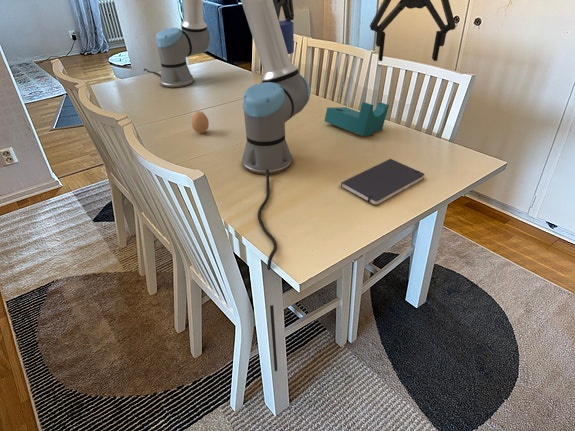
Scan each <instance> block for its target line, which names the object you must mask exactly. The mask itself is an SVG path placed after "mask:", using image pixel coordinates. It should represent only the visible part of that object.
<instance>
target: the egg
mask: <svg viewBox="0 0 575 431" xmlns="http://www.w3.org/2000/svg"><path fill="white" fill-rule="evenodd" d="M190 122H191V127H192V129H193V131H195V132H196V133H198V134H203V133H205V132H207V130H208V129H209V127H210V126H209V125H210V122H209V118H208V117H207V115H206V114H205V113H204V112H203V111H200V110H197V111H195V112H194V113H193V114H192V116H191V120H190Z"/></svg>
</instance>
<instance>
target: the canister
mask: <svg viewBox="0 0 575 431" xmlns="http://www.w3.org/2000/svg"><path fill="white" fill-rule="evenodd" d="M279 24H280V28H281V31H282V35H283V38H284V42H285V45H286V48H287V52H288V55H291V54H294V53H295V42H294V41H295V40H294V39H295V38H294V30H295V29H294V21H292V20H291V21H284V20H279Z"/></svg>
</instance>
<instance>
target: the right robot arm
mask: <svg viewBox="0 0 575 431" xmlns="http://www.w3.org/2000/svg"><path fill="white" fill-rule="evenodd" d="M240 2H241V5H242V8H243V12H244V14H245V17H246V21H247V24H248V27H249V30H250V33H251V36H252V39H253V42H254V45H255V49H256V52H257V54H258V58H259V61H260V64H261V67H262V71H263V74H262V76H261V78H260V81H261V82H259V83H255V84H253V85H251V86H249V87H248V88H247V89H246V90H245V91H244V92H243V97H242V98H243V99H242V108H243V114H244V125H245V136H246V137H245V138H246V143H245V146H244V151H243V155H242V166H243V168H244V170H246V171H247V172H249V173H252V174H254V175H255V174H256V175H262V176H265V182H266V185H265V186H266V187H265V188H266V196H265V198H264V200H263V202H262V203H261V205H260V206H259V208H258V211H257V219H258V222H259V225H260V228H261V229H262V231H263V232H264V234H265V235H266V236H267V237H268V239H269V240H270V241H271V242H272V245H273V247H272V248H273V249H272V250H271V252H270V254H269V255H268V258H267V264H266V266H267V267H266V270H268V271H271V268H272V260H273V258H274V255H276V252H277V249H278V244H277V241H276V238H274V236H273V235H272V234H271V233H270V232H269V231H268V229H267V228H266V226H265V224H264V222H263V219H262V211H263V209H264V207H265V206H266V205H267V203H268V201H269V199H270V175H277V174H280V173H283V172H286V171H287V170H289V169H290V167H291V166H292V163H293V158H292V153H291V150H290V148H289V145H288V143H287V140H286V123H287V122H288V121H289V120H291V119H292V118H293V117H295V116H296V115H297V114H299V113H301V112H302V111H303V110H304V108H305V107H306V106H307V105H308V103H309V101H310V97H311V88H310V84H309V82H308V80H307V79H306V78H305V77H303V75H301V74H300V72H299V70H298V66H296V65H294V64H292V62H291V59H290V56H289V55H290V54H288V52H287V48H286V45H285V42H284V38H283V35H282V31H281V28H280V24H279V21H280V20H279V21H278V17H277V14H276V11H275V7H274V4H273V0H240ZM391 2H392V0H383V1H382V2H381V4H380V6H379V7H378V10H377V11H376V13H375V15H374V17H373V19H372V21H371V22H370V24H369V29H370V31H374V32H375V33H376V36H375V46H376V47H378V61H379V62H383V59H384V49H385V41H386V32H385V30H386V29H387V28H388V26H389V25H390V24H391V23H392V22H393V21H394V20H395V19H396V18H397V16H398V15H399V14H400V13H401V12H402V11H403V10H405V8H407V9H408V10H409V9H410V10H411V9H412V10H413V9H423V8H426V9H427V11H428V12H429V14H430V16H431V18H432V19H433V21H434V22H435V24H436V25H437V27H438V28H439V30H437V31H436V32H435V38H434V43H433V50H432V55H431V59H432V61H434V62H437V61H438V59H439V52H440V47H444V45H445V41H446V37H447V34H448V32H449V31H454V30H456V27H457V25H456V22H455V19H454V15H453V11H452V6H451V4H450V0H440V2H441V5H442V9H443V13H444V16H445V20H446V23H447V24H445V23H444V21H443V19H442V17H441V16H440V14H439V13H438V11H437V9H436V8H435V6H434V4H433V3H432V0H399V1H398V2H397V3H396V5H395V7H394V8H393V9H392V10H391V11H390V12H389V13H388V14H387V16H386V17H385V18H384V19H383V20H382V21H381V19H382V18H383V16H384V14H385V12H386V11H387V9H388V7H389V5H390V3H391ZM379 23H380V24H379ZM269 308H270V309H269V312H270V325H271V326H270V327H271V341H272V353H273V368H274V372H278V357H277V355H278V354H277V342H276V327H275V326H276V324H275V311H274V308H275V307H274V304H272V305H270V306H269Z"/></svg>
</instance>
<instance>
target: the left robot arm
mask: <svg viewBox="0 0 575 431" xmlns="http://www.w3.org/2000/svg"><path fill="white" fill-rule="evenodd" d="M182 4H183V20H182V21H181V23H180V27H181V28H180V27H170V28H165V29H162V30H159V31H158V32H157V33H156V35H155V41H156V42H155V43H156V46H157V52H158V57H159V62H160V67H161V70H160V73H159V72H156V71H151V70H148V69H147V68H144V69H143V72H145V71H146V72H148V73H149V74H155V75H158V76H159V77H160V79H159V80H160V86H162V87H164V88H169V89H170V88H171V89H173V88H174V89H175V88H176V89H177V88H184V87H188V86H190V85H192V84H193V83H194V77H193V74H191V71H190V69H189V67H188V64H187V58H189V57H193V56H196V55H201V54H203V53H206V52H208V51H209V50H210V49H211V47H212V44H213V35H212V33H211V30H210V28H209V27H208V25H207V23H206V22H205V21H204V5H203V4H204V3H203V0H182ZM273 4H274V7H275V11H276V14H277V17H278V21H280V16H281V15H280V14H281V10H282V12H283V16H284V20H283V21H291V22H292V21H294V19H295V18H294V17H295V12H294V1H293V0H273ZM281 8H282V9H281Z"/></svg>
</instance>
